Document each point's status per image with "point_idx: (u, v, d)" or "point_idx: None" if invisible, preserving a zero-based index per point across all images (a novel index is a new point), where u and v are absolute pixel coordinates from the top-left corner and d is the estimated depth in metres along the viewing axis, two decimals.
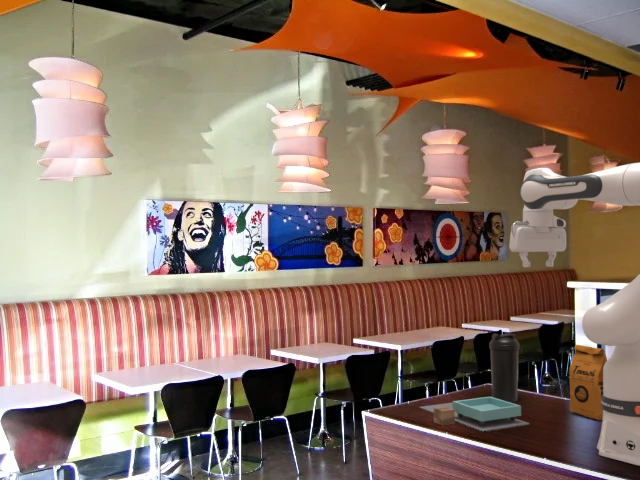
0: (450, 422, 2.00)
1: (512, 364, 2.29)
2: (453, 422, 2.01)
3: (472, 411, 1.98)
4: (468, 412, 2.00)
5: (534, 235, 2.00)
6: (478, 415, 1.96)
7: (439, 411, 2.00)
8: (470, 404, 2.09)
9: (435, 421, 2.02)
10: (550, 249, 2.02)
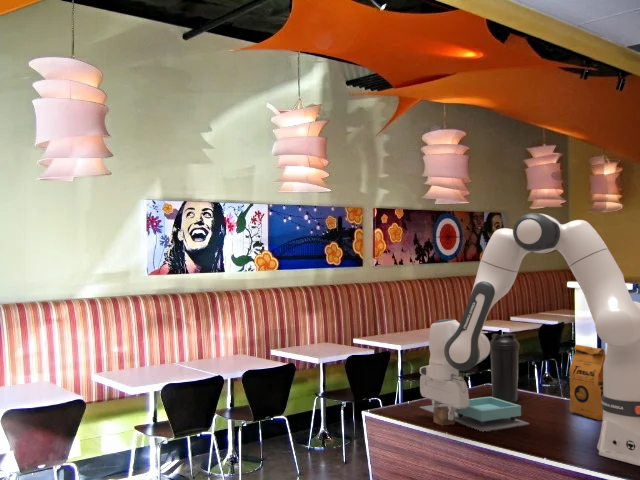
0: (450, 422, 2.00)
1: (512, 364, 2.29)
2: (453, 422, 2.01)
3: (472, 411, 1.98)
4: (468, 412, 2.00)
5: None
6: (478, 415, 1.96)
7: (439, 411, 2.00)
8: (470, 404, 2.09)
9: (435, 420, 2.02)
10: None
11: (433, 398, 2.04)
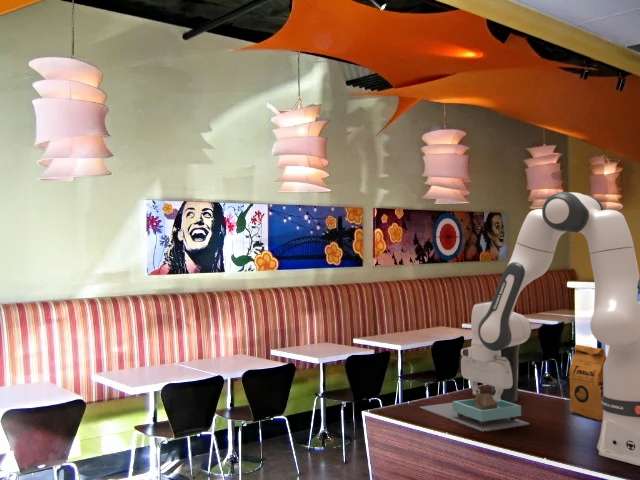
0: None
1: (512, 364, 2.29)
2: None
3: (472, 411, 1.98)
4: (468, 412, 2.00)
5: None
6: (478, 415, 1.96)
7: (482, 398, 2.03)
8: (470, 404, 2.09)
9: (478, 407, 2.04)
10: None
11: (475, 379, 2.06)
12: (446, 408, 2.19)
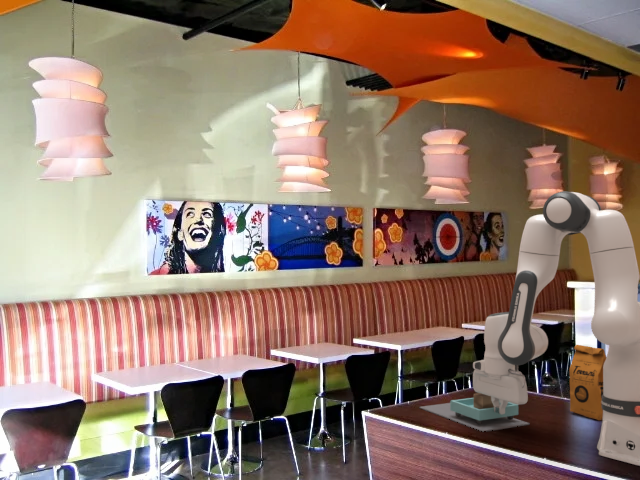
0: None
1: None
2: None
3: (470, 410, 1.99)
4: (466, 411, 2.01)
5: None
6: (475, 414, 1.97)
7: (479, 397, 2.04)
8: (468, 403, 2.10)
9: (475, 406, 2.05)
10: None
11: (488, 393, 1.99)
12: (446, 408, 2.19)
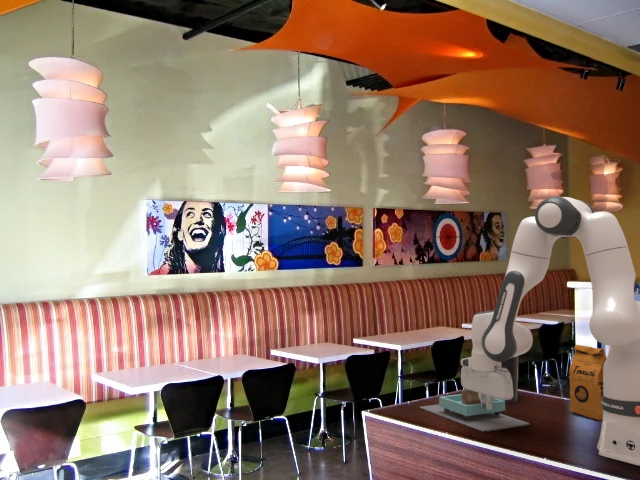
0: None
1: (512, 364, 2.29)
2: None
3: (458, 406, 2.05)
4: (454, 407, 2.07)
5: None
6: (463, 410, 2.02)
7: (467, 393, 2.09)
8: (456, 399, 2.15)
9: (463, 402, 2.11)
10: None
11: (475, 390, 2.04)
12: None
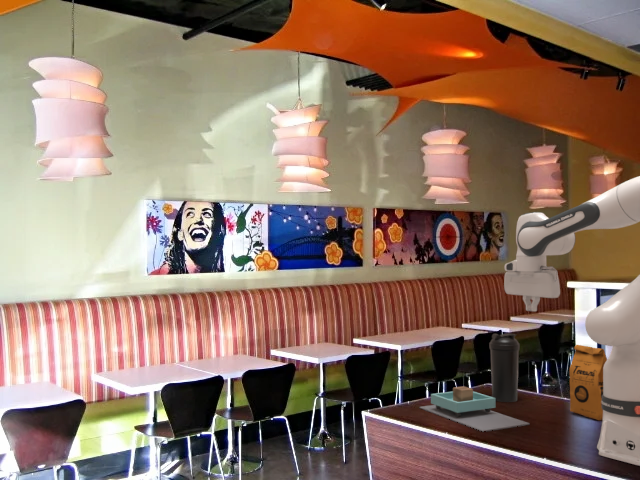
0: None
1: (512, 364, 2.29)
2: None
3: (449, 403, 2.09)
4: (445, 404, 2.11)
5: None
6: (454, 407, 2.06)
7: (458, 390, 2.13)
8: (448, 397, 2.19)
9: (454, 400, 2.15)
10: None
11: (520, 293, 2.04)
12: None
